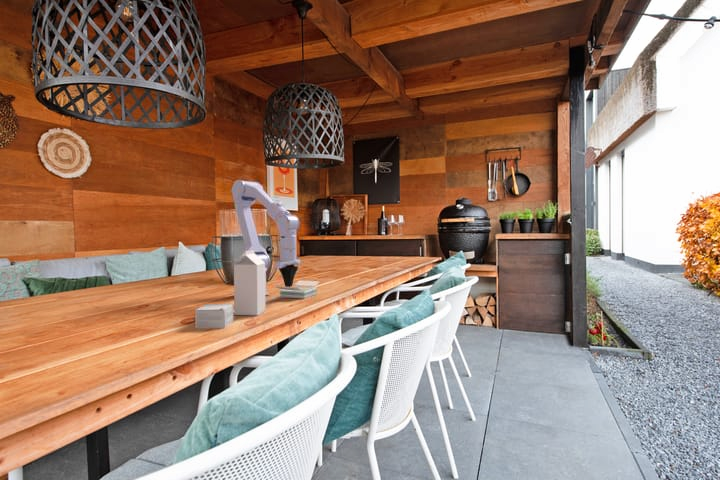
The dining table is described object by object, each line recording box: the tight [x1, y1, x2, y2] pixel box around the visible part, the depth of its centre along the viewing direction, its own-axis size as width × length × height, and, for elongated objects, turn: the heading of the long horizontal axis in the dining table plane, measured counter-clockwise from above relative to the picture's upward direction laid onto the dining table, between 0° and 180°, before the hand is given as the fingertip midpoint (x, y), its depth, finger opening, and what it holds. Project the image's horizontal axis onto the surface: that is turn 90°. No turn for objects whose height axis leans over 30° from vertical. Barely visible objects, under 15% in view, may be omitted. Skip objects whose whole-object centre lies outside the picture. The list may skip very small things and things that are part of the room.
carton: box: [279, 285, 318, 300], centre depth 151 cm, size 10×10×3 cm
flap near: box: [275, 285, 303, 291], centre depth 144 cm, size 1×9×4 cm
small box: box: [194, 303, 234, 329], centre depth 107 cm, size 8×8×5 cm
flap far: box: [293, 279, 320, 288], centre depth 157 cm, size 1×9×4 cm
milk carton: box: [233, 250, 266, 316], centre depth 120 cm, size 7×7×19 cm
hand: (288, 286), depth 144 cm, fingers closed
